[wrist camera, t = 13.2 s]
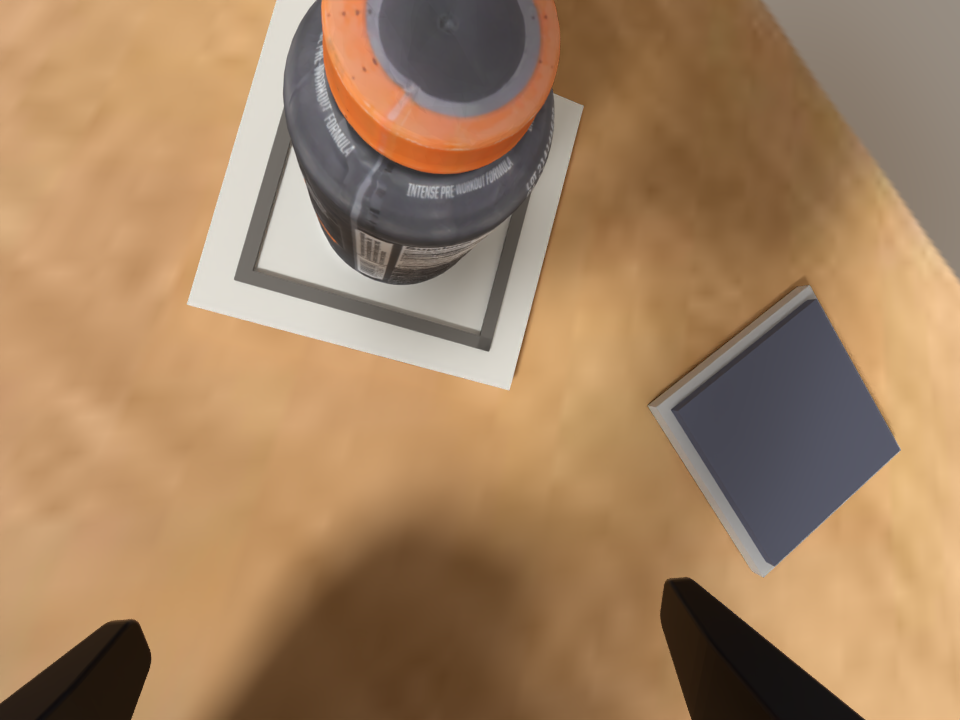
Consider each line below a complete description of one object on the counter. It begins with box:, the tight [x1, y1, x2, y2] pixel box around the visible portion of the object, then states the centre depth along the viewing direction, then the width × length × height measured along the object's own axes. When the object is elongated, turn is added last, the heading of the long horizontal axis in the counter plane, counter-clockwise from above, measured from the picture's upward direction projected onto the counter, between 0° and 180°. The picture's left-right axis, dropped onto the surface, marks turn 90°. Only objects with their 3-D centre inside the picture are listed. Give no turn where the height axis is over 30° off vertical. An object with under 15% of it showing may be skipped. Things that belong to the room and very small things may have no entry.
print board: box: [187, 0, 584, 390], centre depth 19 cm, size 12×12×1 cm
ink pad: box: [648, 285, 901, 578], centre depth 23 cm, size 10×10×1 cm
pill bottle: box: [283, 0, 560, 285], centre depth 14 cm, size 6×6×11 cm
